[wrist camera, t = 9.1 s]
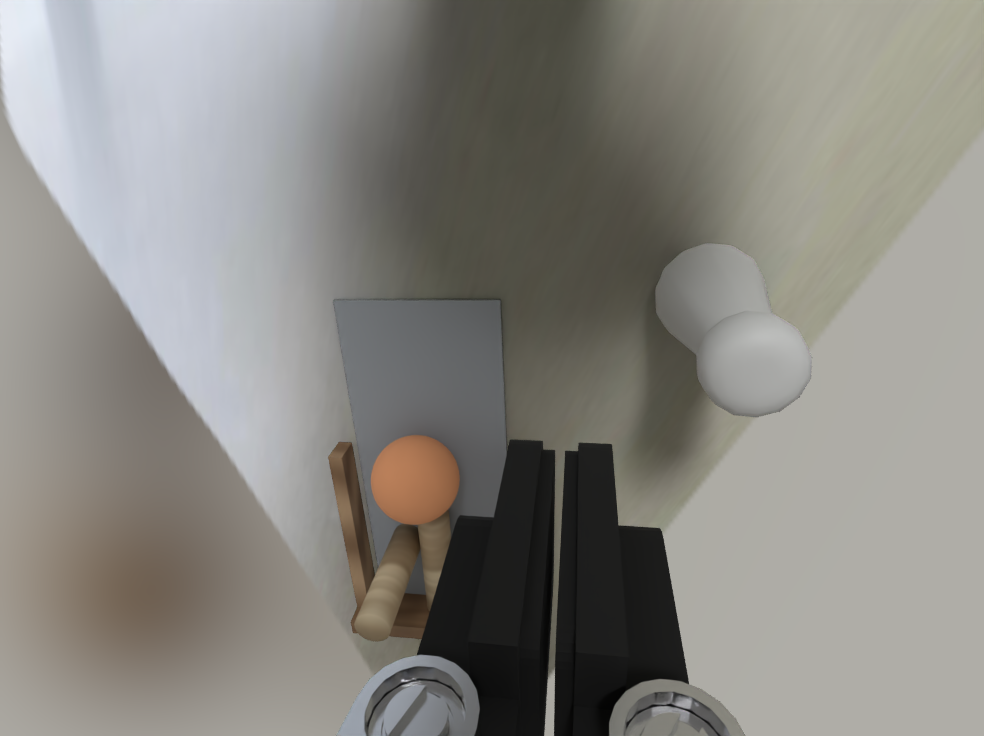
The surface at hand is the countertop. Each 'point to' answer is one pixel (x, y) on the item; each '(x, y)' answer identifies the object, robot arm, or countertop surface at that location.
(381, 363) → the plate
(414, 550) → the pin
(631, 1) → the countertop surface
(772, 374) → the salt shaker
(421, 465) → the ball
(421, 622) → the lane rail
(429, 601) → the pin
